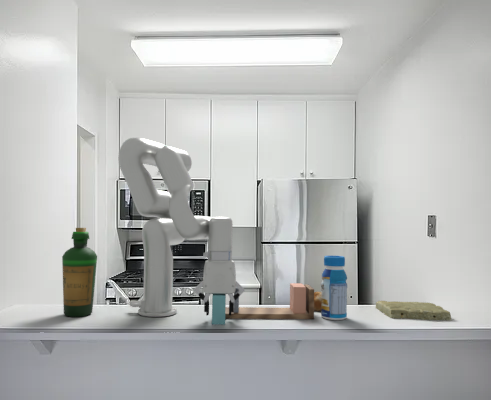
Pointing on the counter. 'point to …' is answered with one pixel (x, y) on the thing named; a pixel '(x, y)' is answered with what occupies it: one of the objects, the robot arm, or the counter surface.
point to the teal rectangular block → (218, 308)
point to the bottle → (79, 276)
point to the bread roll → (317, 301)
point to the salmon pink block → (298, 298)
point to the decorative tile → (413, 310)
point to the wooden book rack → (275, 310)
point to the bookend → (236, 302)
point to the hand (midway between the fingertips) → (218, 314)
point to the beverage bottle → (334, 289)
